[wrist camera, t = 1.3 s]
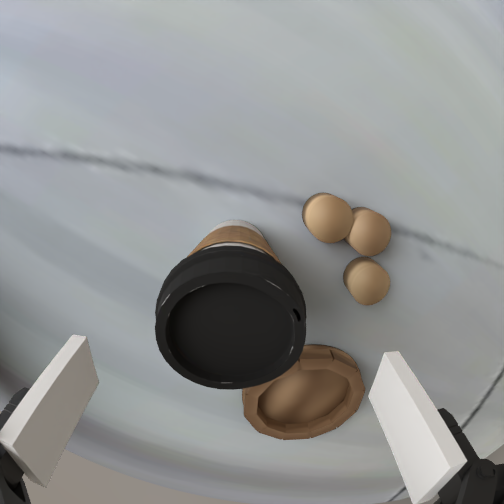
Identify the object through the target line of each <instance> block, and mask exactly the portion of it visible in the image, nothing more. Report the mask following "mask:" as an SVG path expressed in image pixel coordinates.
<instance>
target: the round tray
mask: <svg viewBox="0 0 504 504" xmlns="http://www.w3.org/2000/svg"><path fill="white" fill-rule="evenodd" d="M364 393H365V387H364V384H363V382H362V379H361V374H360V370H359V368H358V366H357V364H356V362H355V361H354V360H353V358H352V357H350V356H349V355H348V354H347V353H345V352H344V351H342V350H340V349H337V348H335V347H331V346H326V345H316V344H311V345H304V348H303V351H302V353H301V355H300V357H299V359H298V361H297V362H296V363H295V364H294V365H293V366H292V367H291V368H290V369H289V370H288V371H286V372H285V373H284V374H283V375H281V376H279V377H277V378H275V379H274V380H272V381H269V382H267V383H264V384H261V385H258V386H254V387H249V388H243V391H242V400H243V405H244V417H245V418H246V419H247V420H248V421H249V422H250V424H251V425H252V426H253V427H254V428H255V429H256V430H257V431H259V433H262V434H265V435H268V436H271V437H274V438H278V439H283V440H293V439H309V438H310V437H311V438H313V437H316V436H318V435H321V434H324V433H326V432H329V431H331V430H334V429H336V427H339V426H340V425H342V424H343V423H344V422H345V421H346V420H347V419H349V418H350V417H351V416H352V415H353V414H354V413H355V412H356V410H358V408H359V405H360V403H361V400H362V398H363V395H364Z"/></svg>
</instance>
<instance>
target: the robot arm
mask: <svg viewBox="0 0 504 504" xmlns="http://www.w3.org/2000/svg"><path fill="white" fill-rule="evenodd" d="M98 384H99V380H98V377H97V374H96V370H95V367H94V363H93V359H92V356H91V352H90V348H89V344H88V340H87V337H84V336H79V335H72V336H71V337H70V339H69V340H68V341H67V342H66V344H65V345H64V346H63V347H62V348H61V350H60V351H59V352H58V353H57V355H56V356H55V357H54V358H53V360H52V361H51V362H50V363H49V365H48V366H47V367H46V369H45V370H44V371H43V372H42V374H41V375H40V376H39V378H38V379H37V380H36V382H35V383H34V384H33V386H32V387H31V388H30V389H27V388H23V389H22V390H20V391H19V392H17V393H16V394H15V395H14V396H13V398H12V399H11V400H10V402H9V404H7V406H6V407H5V408H4V410H3V411H2V412H1V414H0V504H31V502H30V499H29V496H28V493H27V489H26V486H25V483H24V481H23V479H22V476H23V474H24V473H25V475H26V476H27V477H28V478H29V479H30V480H31V481H33V482H35V483H37V484H39V485H41V486H43V487H47V485H48V483H49V481H50V479H51V476H52V474H53V472H54V470H55V468H56V465H57V463H58V461H59V459H60V457H61V455H62V453H63V451H64V449H65V447H66V445H67V443H68V441H69V439H70V437H71V435H72V433H73V431H74V429H75V427H76V425H77V423H78V421H79V419H80V417H81V416H82V414H83V412H84V410H85V408H86V406H87V404H88V402H89V401H90V399H91V397H92V395H93V393H94V391H95V389H96V388H97V386H98ZM368 397H369V400H370V402H371V404H372V406H373V409H374V411H375V413H376V415H377V418H378V420H379V422H380V425H381V427H382V429H383V432H384V434H385V436H386V439H387V441H388V443H389V446H390V448H391V451H392V453H393V455H394V458H395V460H396V463H397V465H398V468H399V470H400V473H401V475H402V478H403V480H404V483H405V485H406V488H407V490H408V493H409V496H410V498H411V501H412V503H413V504H421V503H424V502H426V501H429V500H431V499H432V498H433V497H434V496H435V495H436V494H437V493H438V494H439V497H440V498H439V499H438V500H437V501H436V502H435V503H434V504H504V464H499V465H495V464H494V463H493V462H492V461H489V460H487V459H480V458H479V457H478V456H477V454H476V452H475V451H474V449H473V447H472V446H471V444H470V442H469V441H468V439H467V438H466V436H465V434H464V433H462V430H461V428H460V426H458V423H457V422H456V420H455V419H454V417H453V416H452V415H451V414H450V413H449V412H448V411H446V410H445V409H444V408H442V409H438V410H437V409H436V407H435V406H434V404H433V403H432V401H431V400H430V398H429V396H428V395H427V393H426V392H425V390H424V389H423V387H422V386H421V384H420V383H419V381H418V379H417V378H416V376H415V375H414V373H413V372H412V370H411V369H410V367H409V366H408V364H407V363H406V361H405V360H404V359H403V357H402V356H401V354H400V353H399V351H395V352H384V355H383V357H382V360H381V363H380V366H379V369H378V372H377V374H376V377H375V380H374V382H373V385H372V388H371V390H370V393H369V395H368Z"/></svg>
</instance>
